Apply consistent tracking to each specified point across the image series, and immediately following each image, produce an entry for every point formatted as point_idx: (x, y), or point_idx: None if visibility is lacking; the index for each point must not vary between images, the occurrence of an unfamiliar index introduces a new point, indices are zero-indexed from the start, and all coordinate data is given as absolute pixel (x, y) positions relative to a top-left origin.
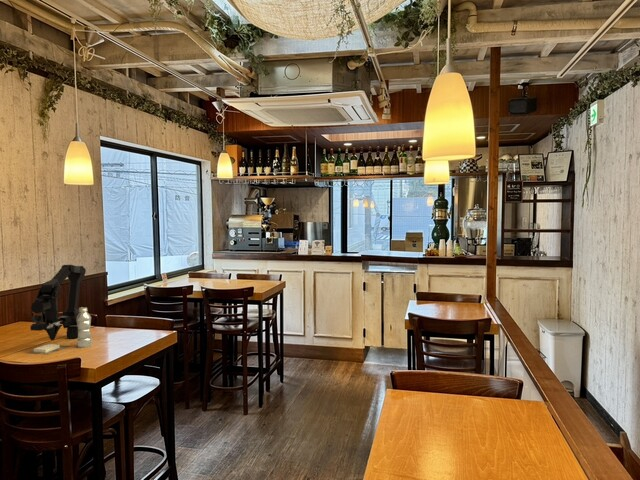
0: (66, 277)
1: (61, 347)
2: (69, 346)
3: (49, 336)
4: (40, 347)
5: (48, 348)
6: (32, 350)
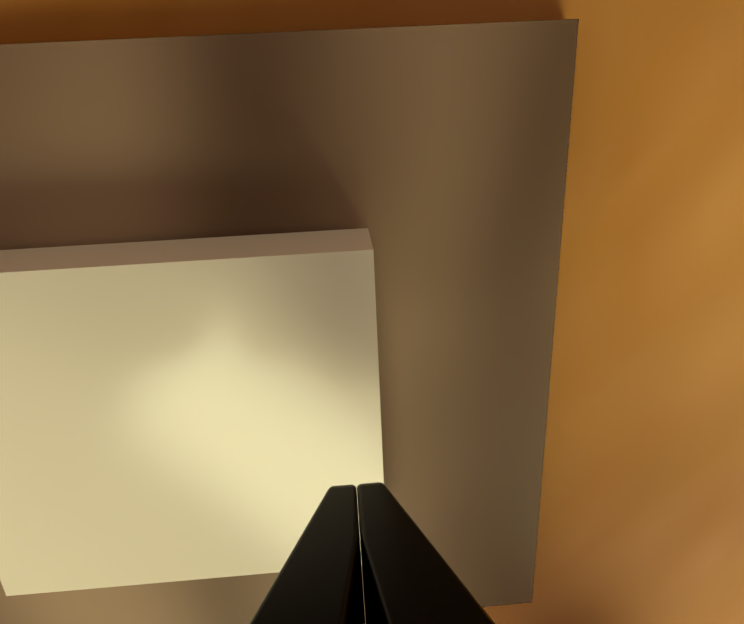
0: None
1: (419, 512)
2: (501, 588)
3: (275, 597)
4: (57, 350)
5: (89, 587)
6: (15, 61)
